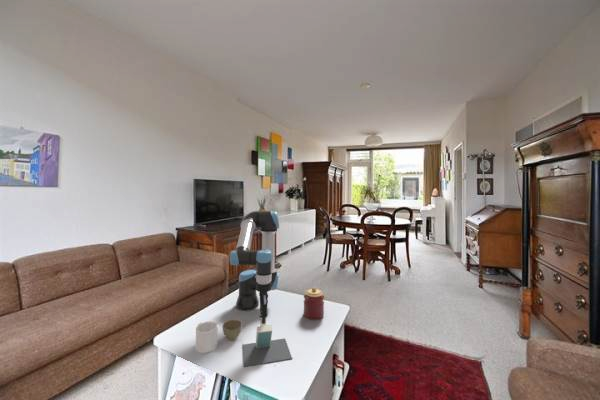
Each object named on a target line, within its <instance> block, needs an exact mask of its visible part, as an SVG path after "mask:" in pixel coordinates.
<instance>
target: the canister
mask: <svg viewBox="0 0 600 400" xmlns="http://www.w3.org/2000/svg"><path fill="white" fill-rule="evenodd" d="M304 293H305V294H304V295H303V299H304V300H303V316H304V317H305V318H306V319H309V320H313V321H314V320H316V321H317V320H319V319H322V318H323V317H324V314H325V311H324V310H325V306H324V304H325V301H324V299H325V296H324V294H323V293H324V292H323V291H322V290H320V289H319V288H316V287H314V286H313V287H312V288H308V289H307V290H305V292H304Z"/></svg>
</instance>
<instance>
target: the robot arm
mask: <svg viewBox="0 0 600 400" xmlns="http://www.w3.org/2000/svg"><path fill="white" fill-rule="evenodd" d="M240 221H241V222H240V233H239V236H238V240H237V244H236V249H235V250H231V251H230V252H229V263H230V265H232V266H248V265H249V266H250V265H251V266H255V267H256V270H255V269H247V270H244V271H242V272H240V274H239V277H238V297H237V299H236V303H235V308H236V309H238V310H240V311H251V310H255V309H257V308H258V307H259V312H260V314H259V318H260V319H259V320H260V321H259V322H260V326H267V317H268V302H269V300H268V298H269V293H268V292H270V291H275V290H277V288H278V282H279V275H280V273H279V272H278V270H277V269H276V267H275V258H276V257H275V256H276V255H275V251H276V250H275V249H276V248H275V247H276V246H275V245H276V233H277V232H278V229H280V221H279V215H278V212H277V211H273V210H268V211H267V210H261V211H260V210H254V211H251V212H249V213H247V214H246V215H245V216H244V217H243V218H242V219H241V220H240ZM255 229H259V231H260V233H261V235H262V237H261V240H262V241H261V249H260V250H251V246H252V239H253V233H254V230H255ZM257 292H258V294H259V295H257ZM258 296H259V298H258Z"/></svg>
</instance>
